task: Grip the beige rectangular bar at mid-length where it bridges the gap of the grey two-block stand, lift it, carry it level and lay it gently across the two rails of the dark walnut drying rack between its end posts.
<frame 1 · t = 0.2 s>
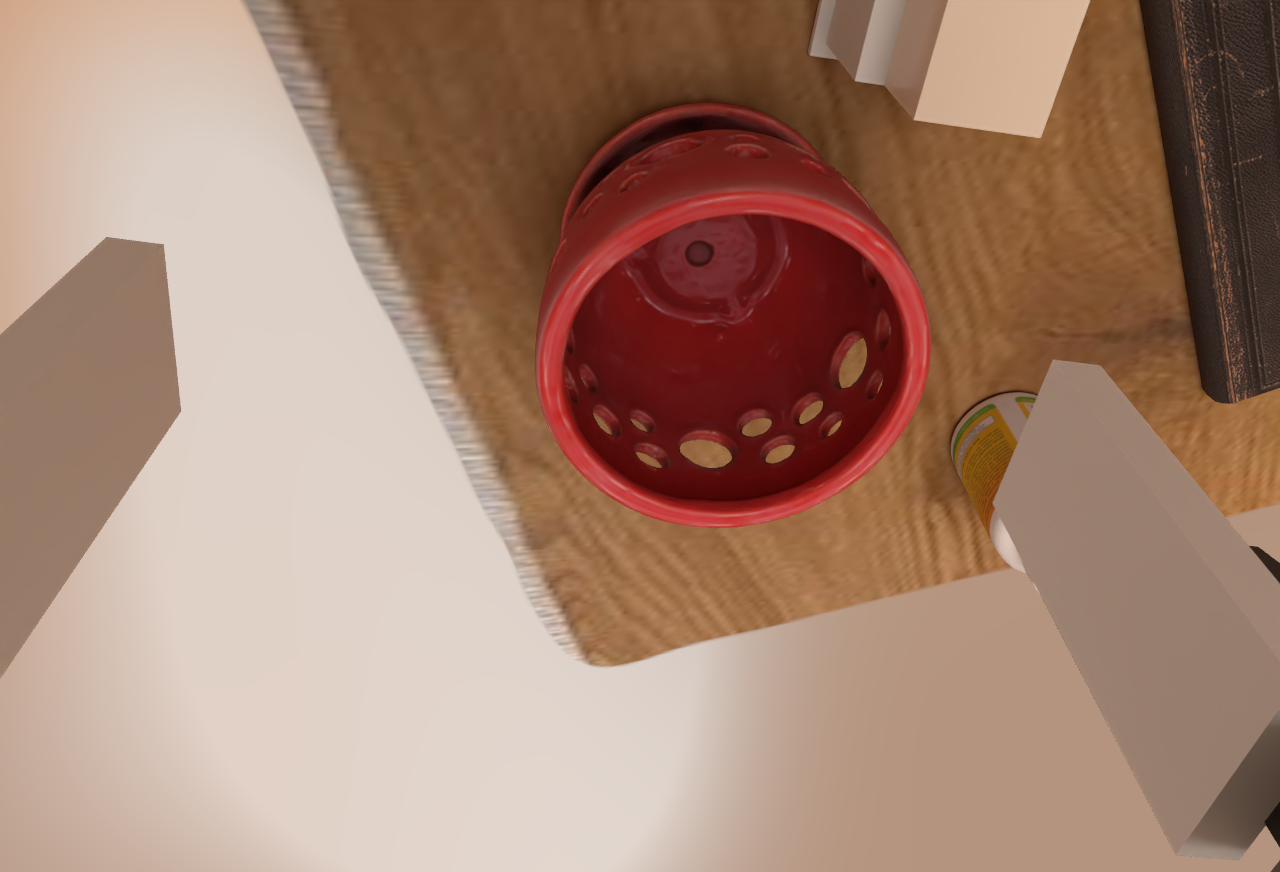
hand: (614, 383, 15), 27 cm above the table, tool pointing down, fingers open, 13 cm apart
supplement bottle: (1003, 435, 49), on the table
plant pot: (705, 237, 43), on the table
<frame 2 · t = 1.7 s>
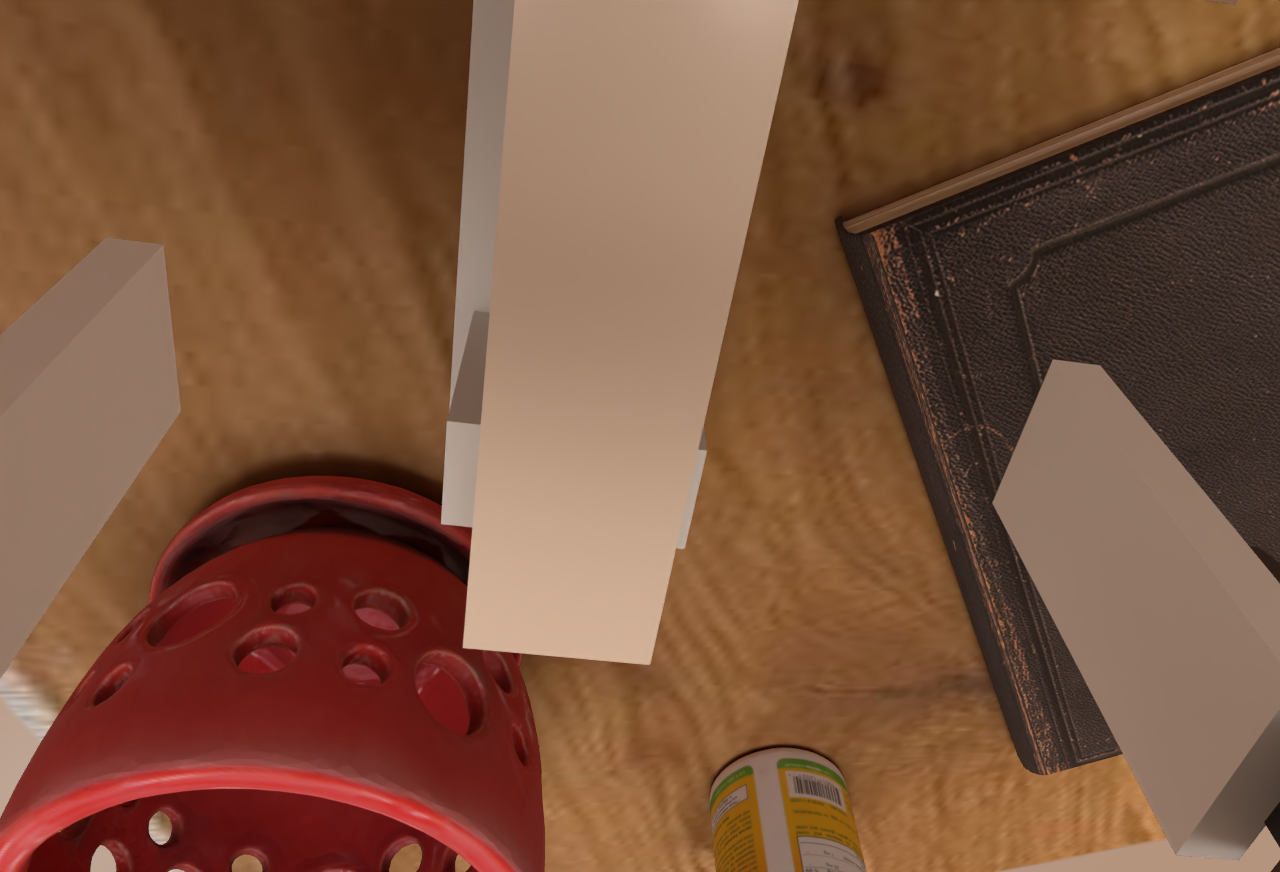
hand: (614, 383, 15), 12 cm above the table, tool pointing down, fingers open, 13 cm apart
stand: (611, 119, 25), on the table
hardcover book: (1181, 429, 32), on the table
beige rectangular bar: (611, 209, 20), point 6 cm above the table, touching stand
supplement bottle: (776, 784, 40), on the table
plant pot: (364, 594, 34), on the table
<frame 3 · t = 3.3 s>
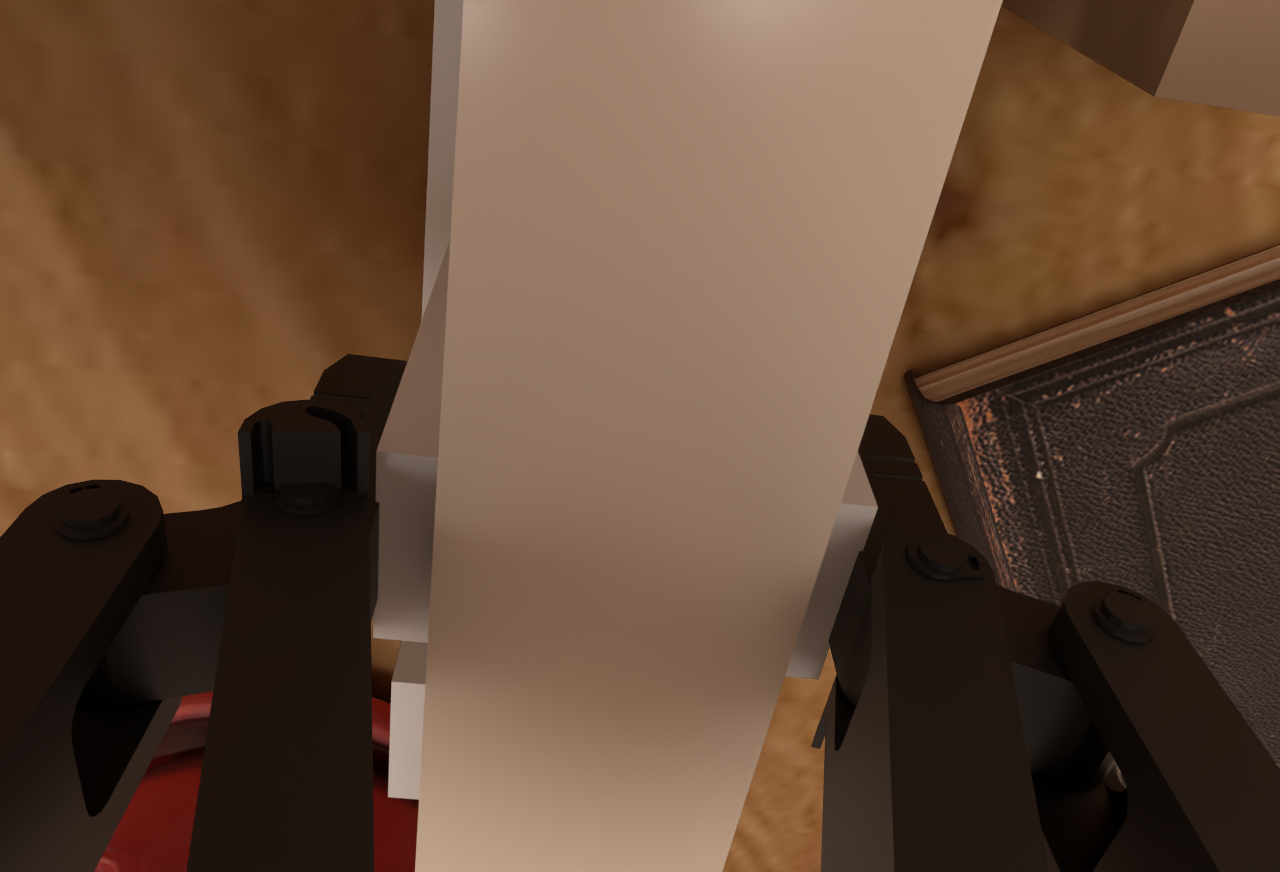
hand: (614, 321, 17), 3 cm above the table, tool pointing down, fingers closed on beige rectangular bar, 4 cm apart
stand: (614, 257, 19), on the table
beige rectangular bar: (615, 426, 14), point 6 cm above the table, touching gripper, stand
plant pot: (313, 796, 28), on the table
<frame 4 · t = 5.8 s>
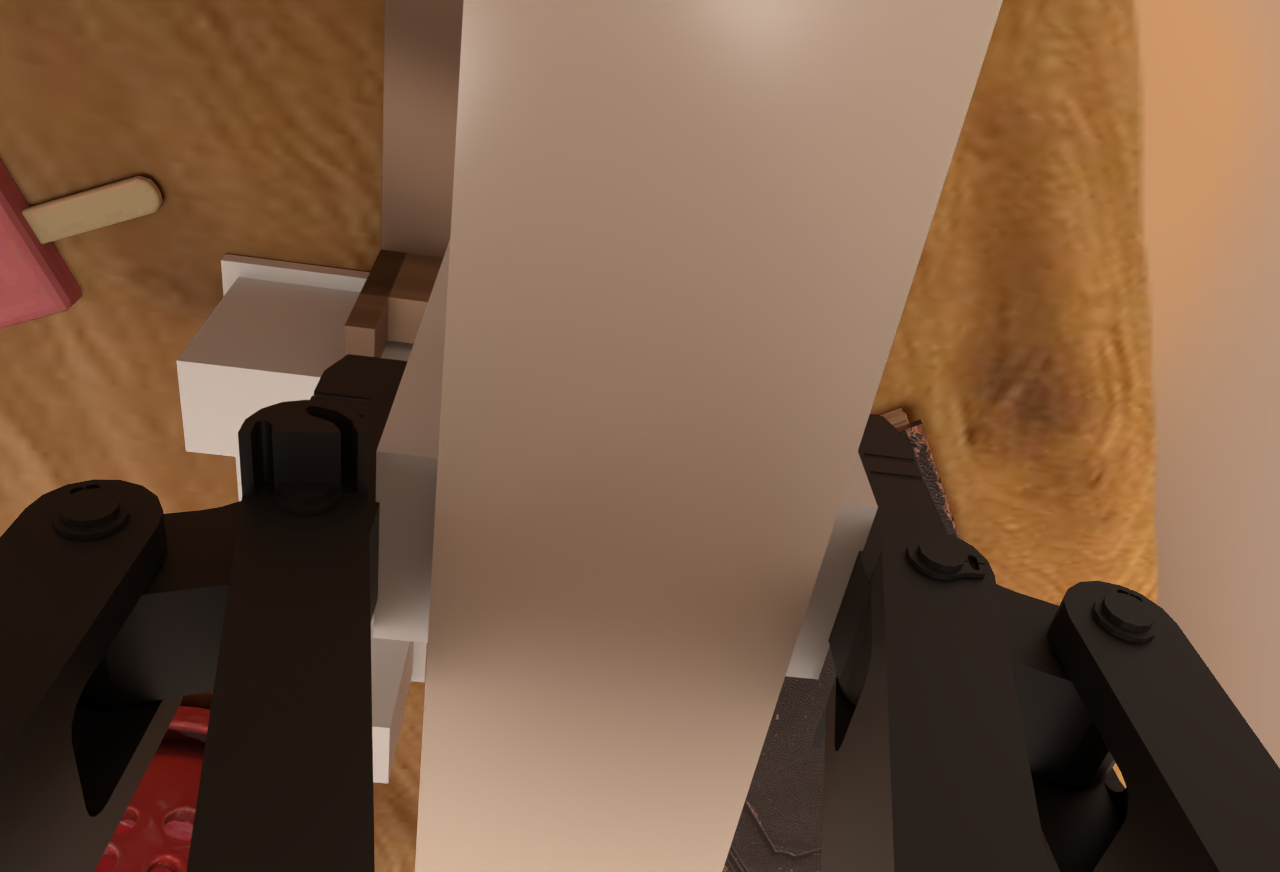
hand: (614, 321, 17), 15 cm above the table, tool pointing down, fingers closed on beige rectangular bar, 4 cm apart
stand: (339, 492, 38), on the table
hardcover book: (795, 662, 44), on the table
beige rectangular bar: (615, 428, 14), point 19 cm above the table, touching gripper
plant pot: (209, 775, 46), on the table
rack: (614, 84, 30), on the table
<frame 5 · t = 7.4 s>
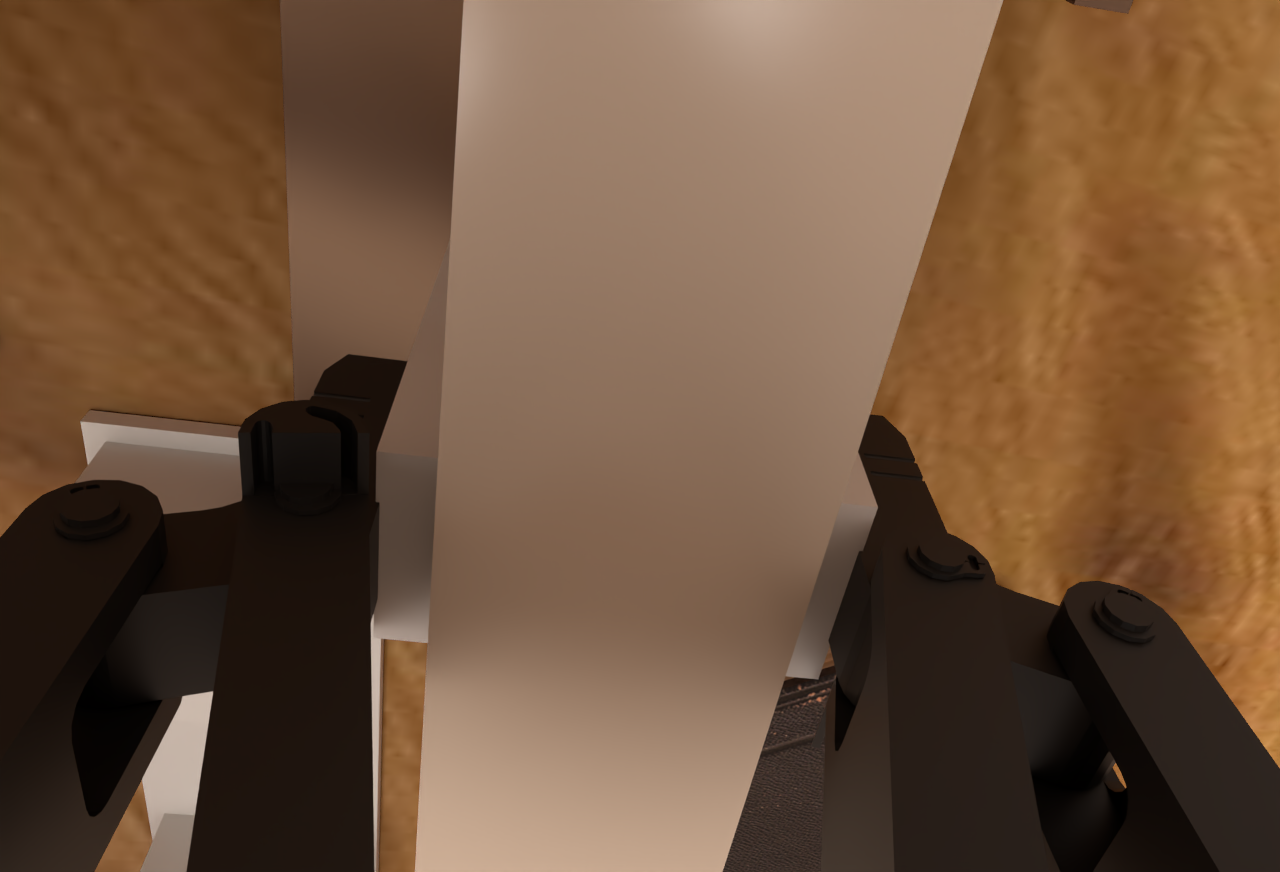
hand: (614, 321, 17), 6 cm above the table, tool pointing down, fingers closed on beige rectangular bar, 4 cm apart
stand: (259, 686, 30), on the table
hardcover book: (833, 857, 36), on the table
beige rectangular bar: (615, 428, 14), point 9 cm above the table, touching gripper
rack: (609, 194, 22), on the table
when the fingers open (2 cm above the table, at t = 8.4 s): beige rectangular bar drops 1 cm, resting on rack.
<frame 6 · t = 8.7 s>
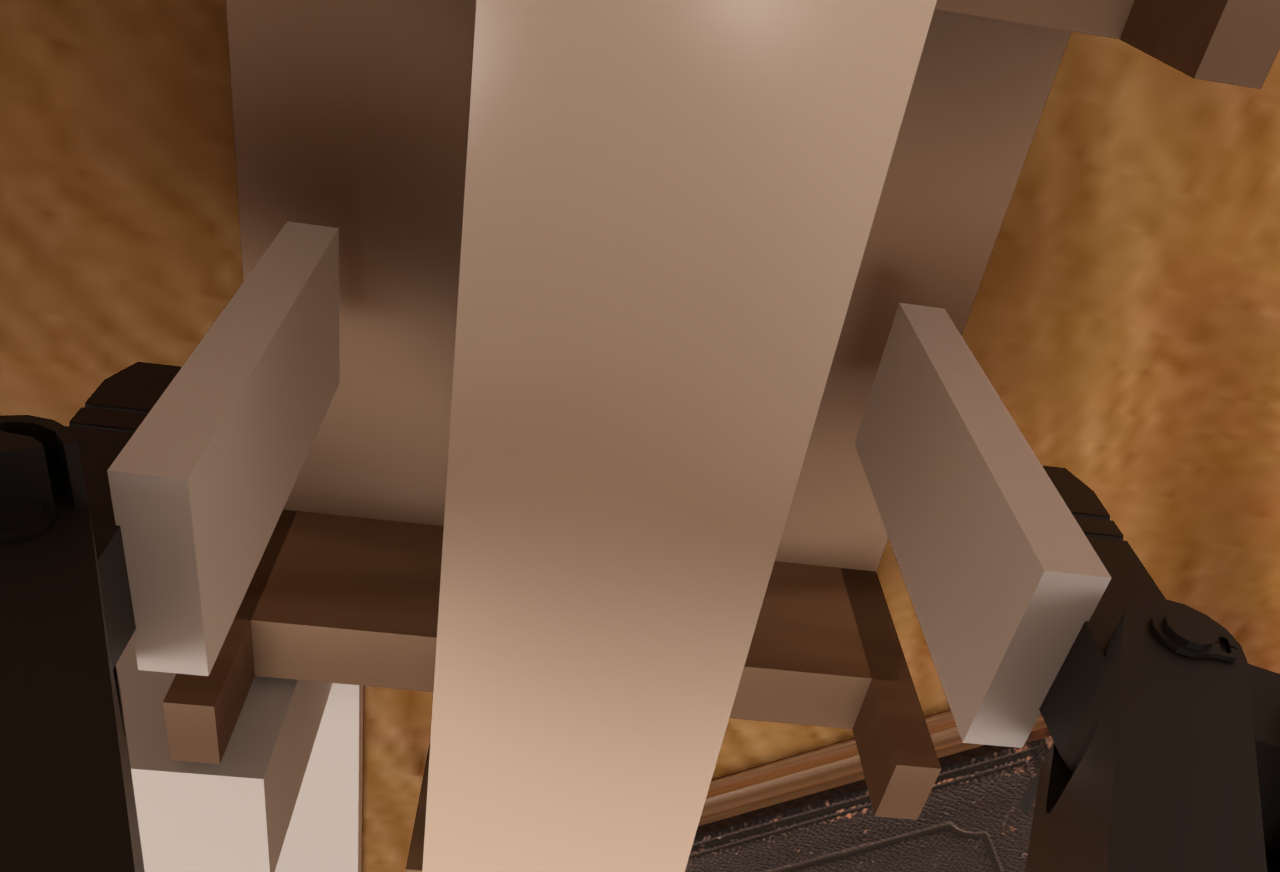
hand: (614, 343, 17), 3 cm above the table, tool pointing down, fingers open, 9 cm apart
stand: (226, 792, 27), on the table
beige rectangular bar: (612, 377, 16), point 4 cm above the table, touching rack
rack: (614, 269, 19), on the table
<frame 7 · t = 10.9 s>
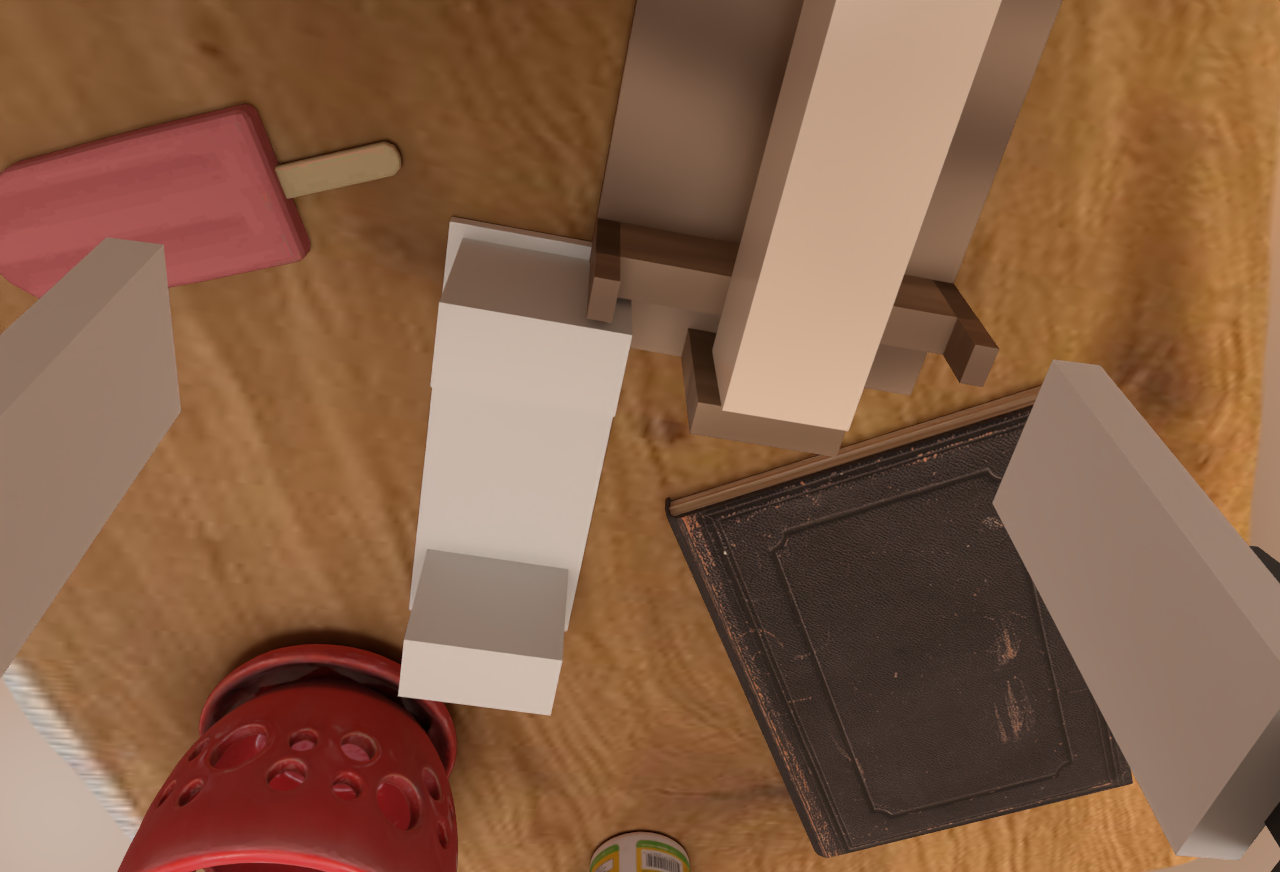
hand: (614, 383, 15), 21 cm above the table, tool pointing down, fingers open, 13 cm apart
stand: (516, 444, 41), on the table
popsicle: (201, 193, 36), on the table
hardcover book: (908, 628, 48), on the table
beige rectangular bar: (843, 110, 30), point 4 cm above the table, touching rack
supplement bottle: (639, 857, 55), on the table
plant pot: (346, 716, 49), on the table
rack: (822, 79, 34), on the table
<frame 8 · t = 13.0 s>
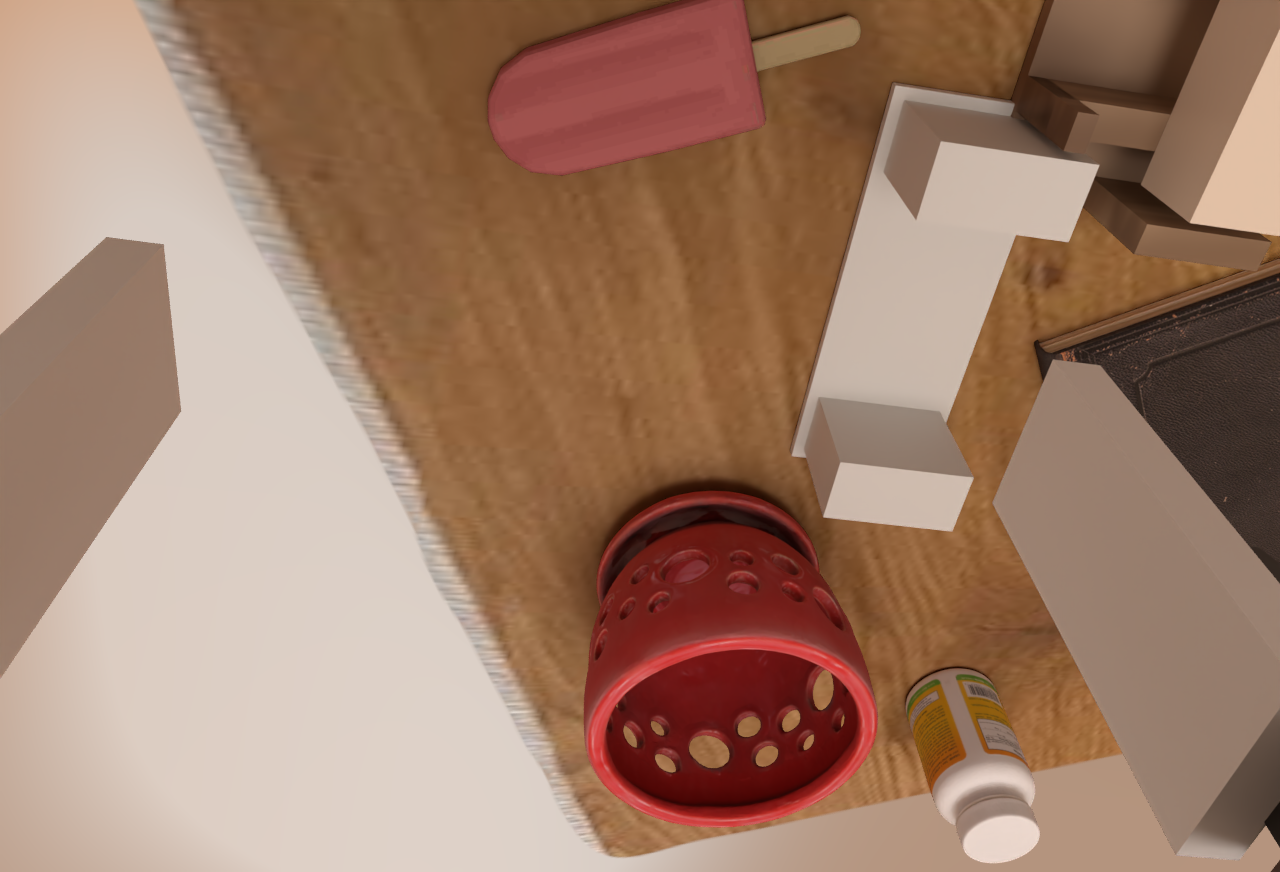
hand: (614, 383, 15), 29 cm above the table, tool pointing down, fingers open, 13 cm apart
stand: (910, 295, 46), on the table
popsicle: (670, 72, 41), on the table
hardcover book: (1225, 461, 53), on the table
supplement bottle: (948, 695, 61), on the table
plant pot: (709, 564, 55), on the table
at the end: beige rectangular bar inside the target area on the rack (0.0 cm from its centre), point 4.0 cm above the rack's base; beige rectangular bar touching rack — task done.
